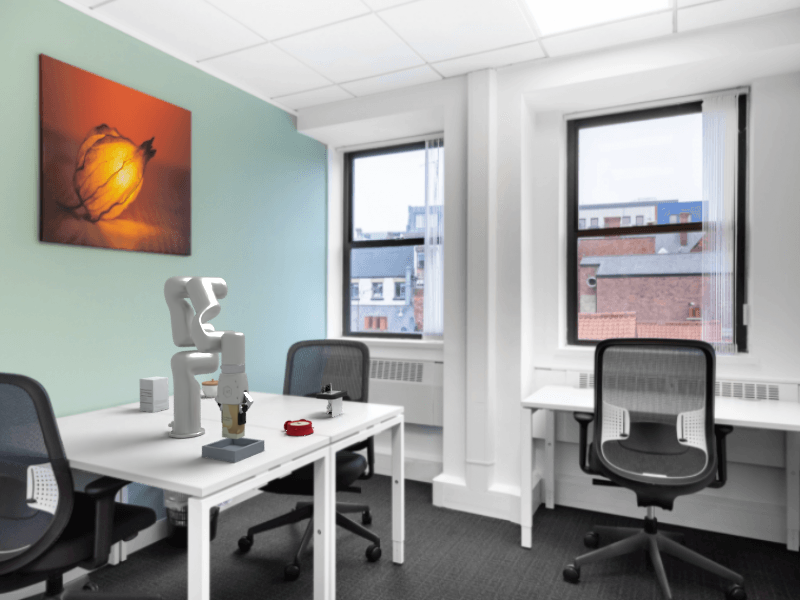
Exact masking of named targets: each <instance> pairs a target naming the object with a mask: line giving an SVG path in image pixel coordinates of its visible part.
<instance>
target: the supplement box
mask: <svg viewBox="0 0 800 600" xmlns="http://www.w3.org/2000/svg"><path fill="white" fill-rule="evenodd" d="M169 388H170V387H169V377H168V376H158V375H156V376H149V377H143V378H139V412H143V411H146V412H145V413H152V412H154V413H158V412H161V410H162V411H166V410H169V409H170V407H169V406H170V402H169V401H170V400H169V399H170V395H169V394H170V393H169V392H170V390H169ZM165 409H166V410H165ZM157 411H158V412H157Z"/></svg>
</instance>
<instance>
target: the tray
mask: <svg viewBox="0 0 800 600" xmlns="http://www.w3.org/2000/svg"><path fill="white" fill-rule="evenodd" d="M264 451H265V439H262V440H261V439H257V438H249V437H245V436H244V437H241V438H238V439H232V438H222V439H219V440H217V441H214V442H211V443H207V444H205V445H202V446H201V458H205V457H207V458H206V459H211V458H213V459H212V460H217V459H218V460H217V461H223V462H224V461H225V462H229V463H238V462H240V461H242V460H245V459H248V458H251V457H252V456H255V455H258V454H260V453H262V452H264Z"/></svg>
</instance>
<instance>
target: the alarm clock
mask: <svg viewBox="0 0 800 600" xmlns="http://www.w3.org/2000/svg"><path fill="white" fill-rule="evenodd" d="M283 429H284V431H285V434H286V435H287V436H292V437H301V436H302V437H305V436H304V435H306V436H308V435H312V434H313V433H314V431H315V430H314V429H315V426H314V427H313V422H312V421H311V420H308V419H305V418H299V419H297V420H286V421H285V422H284V424H283ZM286 430H287V431H286ZM311 433H312V434H311Z"/></svg>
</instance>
